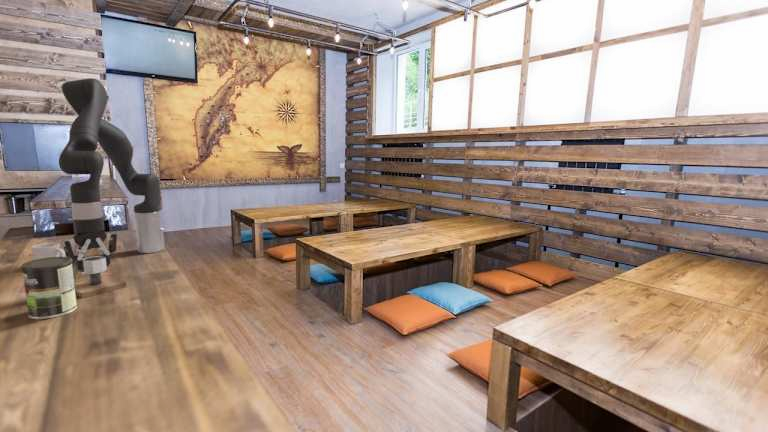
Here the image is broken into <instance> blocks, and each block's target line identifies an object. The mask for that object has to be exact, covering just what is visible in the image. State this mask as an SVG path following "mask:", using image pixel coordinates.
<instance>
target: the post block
mask: <svg viewBox="0 0 768 432" xmlns="http://www.w3.org/2000/svg"><path fill="white" fill-rule="evenodd" d="M101 273H102V272H100V273H95V274H89V279H87V280H82V281H78V282H77V281H76V282H74V286H75V295H76V297H79V298H81V299H85V298H87V297H91V296H92V297H93V296H97V295H99V294H104V293H108V292H110V291H111V292H112V291H115V290H119V289H123V288H127V282H126V281H124V280H121V279H120V278H118V277H114V276H112V275H110V274H107V275H104V276H102V275H101Z"/></svg>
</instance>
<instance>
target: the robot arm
mask: <svg viewBox="0 0 768 432" xmlns="http://www.w3.org/2000/svg"><path fill="white" fill-rule="evenodd" d="M61 91H62V93H63V96H64V98H65V100H66V101H67V103H68V104H69V105H70V107H71V108H72V110H74V112H75V113H76V114H77V117H76V118H75V119H74V121H73V122H72V123H71V126H70V129H69V138H68V142H67V144H66V145H65V146H64V148H63V150H62V151H61V152H60V155H59V157H58V166H59V168H60V170H61V171H62V172H63V173H65V174H66V175H75V176H76V175H89V178H87V179H86V180H84V181H78V182H74V183H72V184H70V187H69V188H70V198H71V215H72V216H71V217H72V225H73V231H74V236H73V238H71V239H63V240H61V243H62V246H63V250H64V252H65V257H69V258H71V259H72V261H75V268H76V270H77V271H79V272H80V273H81V272H84V267H83V260H82V259H84V258H83V257H84V255H85V254H86V252H87V250H92V249H98V250H100V252H101V253H102V255H101V256H103V257H106V265H107V268H108V267H109V265H111V257H110V255H111V254H112V253H116V251H117V241H118V240H117V239H118V237H117V236H118V234H117V233H113V232H110V233H106V230H105V221H104V210H103V206H102V202H101V192H100V185H101V184H100V183H101V177H102V172H103V169H104V165H105V162H104V161H105V160H104V158H103V156H102V154H101V153H99V152H98V151H96V150H97V149H98V145H99V146H100V147H101V149H102V150H103V152H104V153H105V154H106V156H107V158H108V159H109V160H110V161H111V163H112V164H113V166H114V168H115V169H116V170H117V173H118V174H119V177H120V178H121V180H122V182H123V183H124V186H125V188H126V189H127V191H128V192H129V193H130V194H131V195H134V196H143V197H144V200H143V201H142V202H140V203H137V204H134V205H133V214H134V215H133V216H134V221H135V222H134V225H135V234H136V244H137V252H138V253H140V254H153V253H157V252H161V251H162V250H165V249H166V248H164V247H165V246H166V245H165V235H164V228H163V227H162V225H161V214H160V212H161V211H160V206H161V184H160V183H161V182H160V179H159V177H158V176H157V174H152V173H138V171H136V170H135V168H134V166H133V163H132V161H133V157H134V146H133V145H132V143H131V141H130V140H129V138H128V137H127V135H126V133H125V132H124V131H123V130H122V129H120V128H119V127H117V126H116V125H114V124H112V123H110V122H109V121H107V120H105V119H103V116H104V113H105V110H106V108H107V105H108V93H107V91H106V88H105V86H104V85H103V83H102V82H101V81H100V80H99V79H97V78H83V79H77V80H70V81H65V82H63V83H62V85H61ZM106 239H107V240H108V248H107V246H106V245H105V243H104V242H105V240H106ZM74 244H76V245H78V246H77V248H76V250H75V251H76V252H75V254H74V251H73V248H72V247H73V246H74Z"/></svg>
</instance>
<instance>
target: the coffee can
mask: <svg viewBox="0 0 768 432" xmlns="http://www.w3.org/2000/svg"><path fill="white" fill-rule="evenodd" d="M20 268H21V270H22V276H23V284H24V291H25V298H26V304H27V312H28V315H27V316H28V318H29V319H32V320H47V319H55V318H58V316H59V317H62V316H61V315H63V316H65V314H66V315H68V314H71V313H72V312H74V311H76V310H77V309H78V305H77V295H75V286H74V283H75V280H74V279H75V278H74V270H73V260H72V259H71V258H69V257H67V256H65V257H61V256H60V257H49V258H42V259H37V260H35V259H34V260H30V261H26V262H24V263H22V264H21V265H20ZM54 317H55V318H54Z"/></svg>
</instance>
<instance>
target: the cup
mask: <svg viewBox="0 0 768 432" xmlns="http://www.w3.org/2000/svg"><path fill="white" fill-rule="evenodd" d="M31 250H32V253H33V257H34V260H37V259H42V258H49V257H66V253H65V250H64V248H62V247H61V243H59V242H44V243H43V242H42V243H38V244H35V245H32V246H31Z"/></svg>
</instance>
